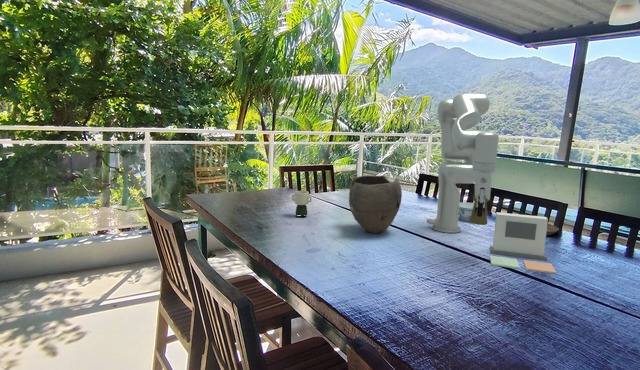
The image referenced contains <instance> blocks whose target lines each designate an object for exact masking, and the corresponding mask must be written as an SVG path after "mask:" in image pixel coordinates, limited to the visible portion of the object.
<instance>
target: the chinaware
mask: <svg viewBox="0 0 640 370" xmlns="http://www.w3.org/2000/svg"><path fill="white" fill-rule="evenodd" d="M473 206H474V202H466V201H465V202H464V201H463V202H462V201H460V204H459V217H460V218H461V220H462V221H464V222H465V221H466V222H470V218H471V214H472V210H473Z"/></svg>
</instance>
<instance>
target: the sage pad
mask: <svg viewBox="0 0 640 370" xmlns="http://www.w3.org/2000/svg"><path fill="white" fill-rule="evenodd" d="M489 260H490V265H491V266H495V267H503V268H508V269H515V270H516V269H517V270H520V269H521V266H520V264H519V261H518V259H517V258H511V257H503V256H496V255H489Z"/></svg>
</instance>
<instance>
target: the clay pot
mask: <svg viewBox="0 0 640 370" xmlns="http://www.w3.org/2000/svg"><path fill="white" fill-rule="evenodd" d="M402 193H403V192H402V186H401V182H400V180H399V179H398V177H396V178H395V179H394V180H393V181H391V180H389V179H388V178H387V177H386V176H385V175H360V176H355V177H354V178H353V179H352V181H351V183H350V186H349V192H348V205H349V209H350V210H349V211H350V212H351V214H352V216H353V218H354V220H355V221H356V223H358V225H359V226H360V227H361V228H362V229H364V230H365V231H366V232H368V233H373V234H378V233H382V232H384V231H386V230H387V229H388V228H389V227H390V226H391V225H392V223H393V222H394V220H395V218H396V216H397V215H398V212H399V210H400V207H401V202H402V195H403V194H402Z"/></svg>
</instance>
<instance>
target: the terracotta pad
mask: <svg viewBox="0 0 640 370" xmlns="http://www.w3.org/2000/svg"><path fill="white" fill-rule="evenodd" d="M522 263H523V265H524V268H525V270H526V271H532V272H537V273H546V274H550V275H551V274H552V275H553V274H554V275H557V271H556V269H555V267H554V265H553V264H552V263H549V262H542V261H533V260H528V259H527V260H526V259H522Z"/></svg>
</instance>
